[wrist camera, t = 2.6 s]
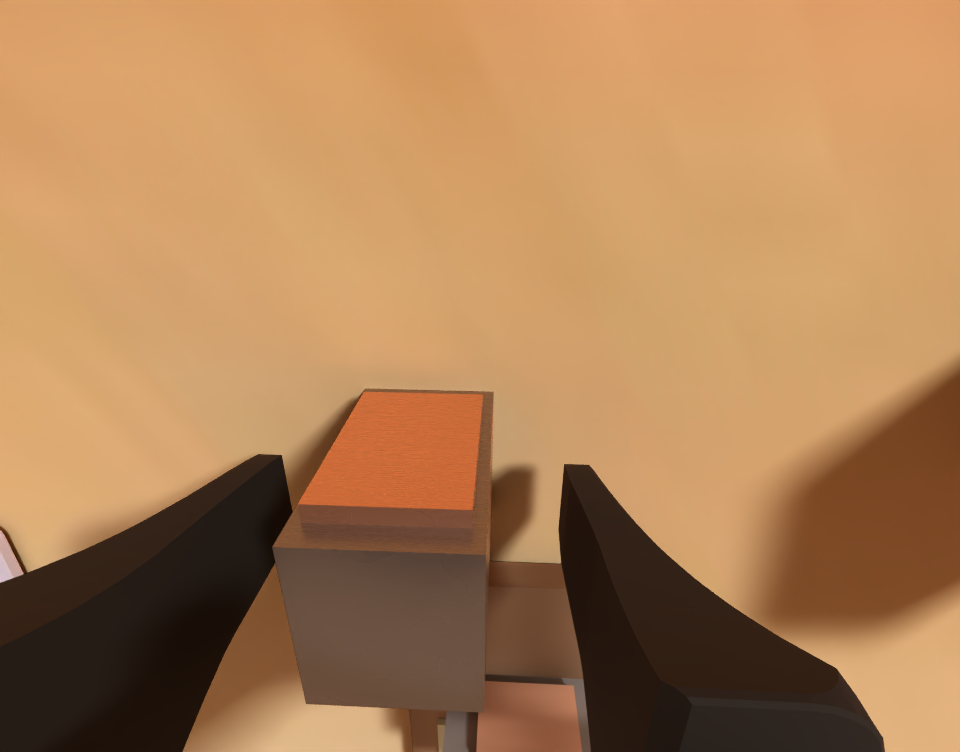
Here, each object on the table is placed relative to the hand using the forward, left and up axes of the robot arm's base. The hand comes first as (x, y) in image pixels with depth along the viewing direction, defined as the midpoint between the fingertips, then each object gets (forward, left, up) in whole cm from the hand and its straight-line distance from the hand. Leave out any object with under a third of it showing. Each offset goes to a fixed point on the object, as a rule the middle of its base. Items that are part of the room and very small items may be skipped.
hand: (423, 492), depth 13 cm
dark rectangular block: (0, 0, -2) cm, 2 cm away
